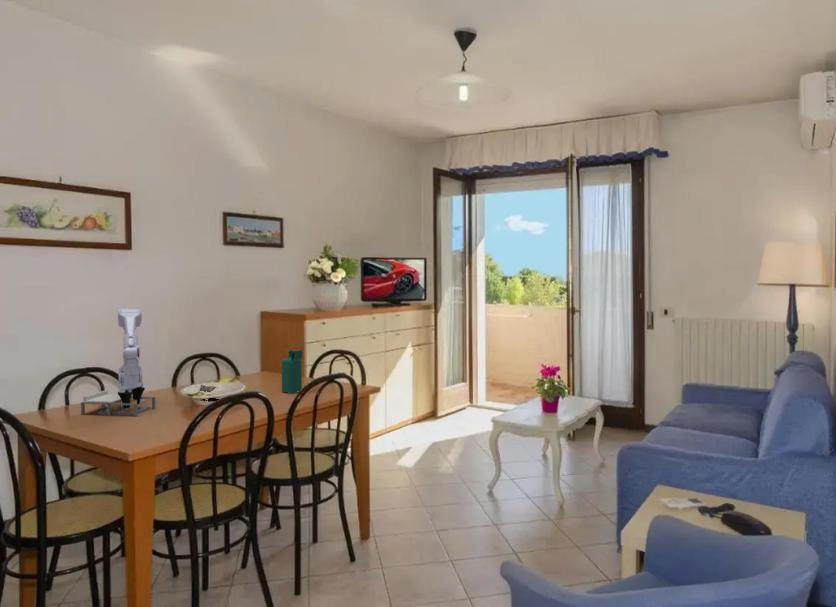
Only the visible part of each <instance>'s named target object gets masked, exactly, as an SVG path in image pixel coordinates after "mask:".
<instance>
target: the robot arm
mask: <svg viewBox="0 0 836 607" xmlns="http://www.w3.org/2000/svg"><path fill="white" fill-rule="evenodd" d="M142 312H143V311H142V309H141V308H118V309H117V322H118V327H120V328H122V329H123V331H124V336H123V339H122V340H123V349H122V360H123V364H121V365H120V366H119V367H118V384H119V385H121V387H118V388H119V390H118V392H117V394H118V395H119V396H120V398H121V401H122V403H127V404H130V400H137V404H138V406H139V405H140V404H141V403H143V402H145V401H146V399H144V398H141V397H144V392H145V388H146V387H144V382H143V370H142V368H143V367H142V366H141V365H140V363H139V362H140V361H139V360H140V357H141V351H140V346H139V336H138V335H137V334H136V329H137V328H138V327H141V324H142V319H143V318H142V315H143V314H142ZM132 395H133V396H132ZM131 396H132V397H133V398H131ZM122 406H123V407H124V408H129V407H130V405H122Z"/></svg>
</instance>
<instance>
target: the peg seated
mask: <svg viewBox="0 0 836 607" xmlns="http://www.w3.org/2000/svg"><path fill="white" fill-rule="evenodd" d="M113 403H122V400H119V401H116V402H113ZM122 406H123V405H111V410H112V411H119V410H122Z"/></svg>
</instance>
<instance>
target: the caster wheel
mask: <svg viewBox="0 0 836 607" xmlns="http://www.w3.org/2000/svg"><path fill="white" fill-rule="evenodd" d="M215 388H217V387H216V386H213V385H210V386H209V385H207V386H206V385H204V384H200V387H199V390H198V392H199V391H204V392H206V391H207V392H211V391H213V390H214V389H215Z"/></svg>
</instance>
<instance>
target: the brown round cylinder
mask: <svg viewBox="0 0 836 607" xmlns="http://www.w3.org/2000/svg"><path fill="white" fill-rule="evenodd" d="M130 404H137V400H130ZM126 411H134V405H130V407H129V408H127V409H126Z"/></svg>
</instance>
